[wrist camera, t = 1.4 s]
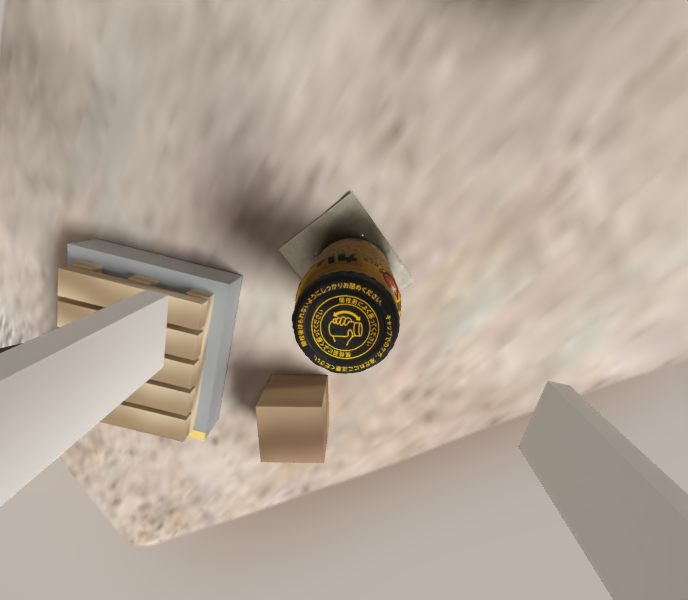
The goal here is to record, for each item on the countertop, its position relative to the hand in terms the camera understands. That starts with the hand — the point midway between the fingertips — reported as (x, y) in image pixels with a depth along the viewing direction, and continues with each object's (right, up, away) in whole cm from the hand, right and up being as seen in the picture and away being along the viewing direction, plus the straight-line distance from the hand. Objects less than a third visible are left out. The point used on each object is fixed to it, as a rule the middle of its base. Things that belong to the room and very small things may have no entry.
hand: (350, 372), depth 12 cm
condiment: (0, +5, +16) cm, 17 cm away
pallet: (-16, -1, +15) cm, 22 cm away
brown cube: (-4, -6, +20) cm, 21 cm away
